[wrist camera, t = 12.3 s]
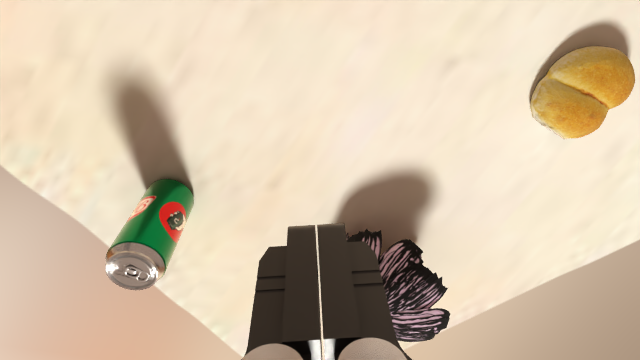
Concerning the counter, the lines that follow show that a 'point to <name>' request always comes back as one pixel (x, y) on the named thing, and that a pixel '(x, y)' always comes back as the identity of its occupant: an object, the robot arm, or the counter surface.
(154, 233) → the soda can
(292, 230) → the robot arm
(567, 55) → the bread roll
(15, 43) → the counter surface
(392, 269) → the bird figurine
